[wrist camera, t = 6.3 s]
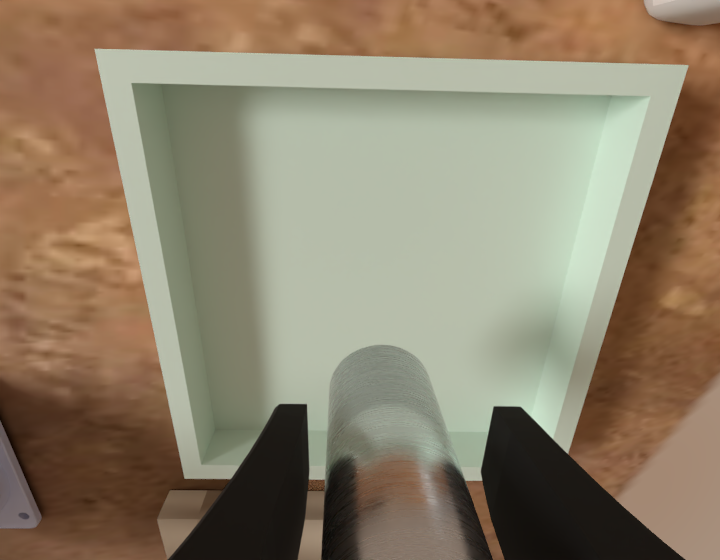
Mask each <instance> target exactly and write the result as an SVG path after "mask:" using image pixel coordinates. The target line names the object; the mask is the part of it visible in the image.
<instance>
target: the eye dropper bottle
mask: <svg viewBox="0 0 720 560" xmlns="http://www.w3.org/2000/svg"><path fill="white" fill-rule="evenodd" d="M644 5H645V7H646V9H647V12H648V14H649V15H651V16H652V17H654V18H656V19H658V20H661V21H667V22H673V23H681V24H688V25H698V26H701V25H709V24H716V23H720V0H644Z"/></svg>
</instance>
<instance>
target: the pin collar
mask: <svg viewBox="0 0 720 560" xmlns="http://www.w3.org/2000/svg"><path fill="white" fill-rule="evenodd" d="M222 491H223V490H170V491H169V493H168V495H167V498H166V500H165V502H164V504H163V506H162V509H161V511H160V513H159V515H158V518H157V522H158V526H159V530H160V533H161V537H162V541H163V545H164V549H165V552H166V556H167V560H168V559H169V558H170V557H171V555H172V554H173V553H174V552H175V551H176V550H177V548H178V547H179V546H180V545H181V544H182V542H183V541H184V540H185V539H186V537H187V536H188V535H189V534H190V533H191V531H192V530H193V529H194V528H195V526H196V525H197V524H198V523H199V521H200V520H201V519H202V517H203V516H204V515H205V513H206V512H207V511H208V509H209V508H210V507H211V505H212V504H213V503H214V501H215V500H216V499H217V497H218V496H219V495H220V494H221V492H222ZM323 510H324V491H308V493H307V505H306V515H305V522H304V528H303V533H302V538H301V544H300V549H299V555H298V560H321V552H322V531H323Z"/></svg>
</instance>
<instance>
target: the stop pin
mask: <svg viewBox="0 0 720 560" xmlns="http://www.w3.org/2000/svg"><path fill="white" fill-rule="evenodd" d="M321 560H493V559H492V556H491V553H490V550H489V547H488V544H487V541H486V539H485V536H484V533H483V530H482V527H481V524H480V521H479V519H478V516H477V513H476V510H475V507H474V504H473V501H472V498H471V496H470V493H469V490H468V487H467V484H466V481H465V478H464V476H463V473H462V470H461V467H460V464H459V461H458V458H457V455H456V453H455V450H454V447H453V444H452V441H451V438H450V435H449V432H448V430H447V427H446V424H445V421H444V418H443V415H442V412H441V410H440V407H439V404H438V401H437V398H436V395H435V392H434V389H433V387H432V384H431V381H430V378H429V375H428V373H427V370H426V368H425V367H424V365H423V364H422V362H421V361H420V360H419V359H418V358H417V357H416V356H414V355H413V354H412V353H410V352H408V351H406V350H404V349H402V348H399V347H396V346H391V345H373V346H368V347H365V348H361V349H359V350H357V351H355V352H353V353H351V354H350V355H348V356H347V357H346V358H344V359H343V360H342V361H341V362H340V364H339V365H338V366H337V367H336V369H335V371H334V373H333V375H332V377H331V381H330V387H329V407H328V427H327V448H326V469H325V489H324V510H323V531H322V552H321Z"/></svg>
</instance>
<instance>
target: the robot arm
mask: <svg viewBox="0 0 720 560" xmlns="http://www.w3.org/2000/svg"><path fill="white" fill-rule="evenodd" d="M481 476H482V481H483V486H484V490H485V495H486V500H487V504H488V508H489V512H490V517H491V520H492V523H493V526H494V529H495V532H496V535H497V538H498V541H499V544H500V547H501V550H502V553H503V556H504V559H505V560H685V559H684V558H683V557H681V556H680V555H679V554H678V553H676V552H675V551H674V550H673V549H671V548H670V547H669V546H668V545H667V544H665V543H664V542H663V541H662V540H661V539H659V538H658V537H657V536H656V535H655V534H654V533H652V532H651V531H650V530H649V529H648V528H646V526H644V525H643V524H642V523H641V522H640V521H639V520H637V518H635V517H634V516H633V515H632V514H631V513H630V512H629V511H627V510H626V509H625V508H624V507H623V506H622V505H621V504H620V503H619V502H617V501H616V500H615V499H614V498H613V497H612V496H611V495H610V494H609V493H608V492H607V491H606V490H604V489H603V488H602V487H601V486H600V485H599V484H598V483H597V482H596V481H595V480H594V479H593V478H592V477H591V476H590V475H589V474H588V473H587V472H586V471H585V470H583V469H582V468H581V467H580V466H579V465H578V464H577V463H576V462H575V461H574V460H573V459H572V458H571V457H570V456H569V455H568V454H567V453H566V452H565V451H564V450H563V449H562V448H561V447H560V446H559V445H558V444H557V443H556V442H555V441H554V440H553V439H552V438H551V437H550V436H549V435H548V434H547V433H546V432H545V431H544V429H543V428H542V427H541V426H540V425H539V424H538V423H537V422H536V421H535V420H534V419H533V418H532V417H531V416H530V415H529V414H528V413H527V412H526V411H525V410H524V409H523V408H522V407H519V406H494V407H493V412H492V417H491V422H490V427H489V432H488V437H487V442H486V447H485V452H484V457H483V462H482V467H481ZM308 482H309V444H308V417H307V404H279V405H278V406H276V407H275V409H274V411H273V413H272V414H271V416H270V418H269V420H268V422H267V424H266V425H265V427H264V429H263V430H262V432H261V434H260V435H259V437H258V439H257V440H256V442H255V444H254V445H253V447H252V448H251V450H250V452H249V453H248V455H247V456H246V458H245V459H244V460H243V462H242V463H241V465H240V466H239V468H238V469H237V471H236V472H235V474H234V475H233V477H232V478H231V480H230V481H229V483H228V484H227V485H226V487H225V488H224V489H223V491H222V492H221V494H220V495H219V496H218V497H217V499H216V500H215V501H214V503H213V504H212V505H211V507H210V508H209V509H208V511H207V512H206V513H205V515H204V516H203V517H202V519H201V520H200V521H199V523H198V524H197V525H196V526H195V528H194V529H193V530H192V531H191V533H190V534H189V535H188V536H187V537H186V539H185V540H184V541H183V542H182V544H181V545H180V546H179V547H178V548H177V550H176V551H175V552H174V553H173V554H172V555H171V557H170V558H169V559H168V560H298V555H299V549H300V544H301V538H302V533H303V528H304V522H305V515H306V505H307V493H308ZM41 519H42V517H41V514H40V512H39V510H38V507H37V505H36V503H35V500H34V498H33V496H32V493H31V491H30V489H29V486H28V484H27V482H26V479H25V477H24V475H23V472H22V470H21V468H20V465H19V463H18V461H17V458H16V456H15V454H14V451H13V449H12V447H11V444H10V442H9V440H8V437H7V435H6V433H5V430H4V428H3V426H2V423H1V421H0V528H34V527H36V526H37V525H38V524H39V522H40V521H41Z"/></svg>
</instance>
